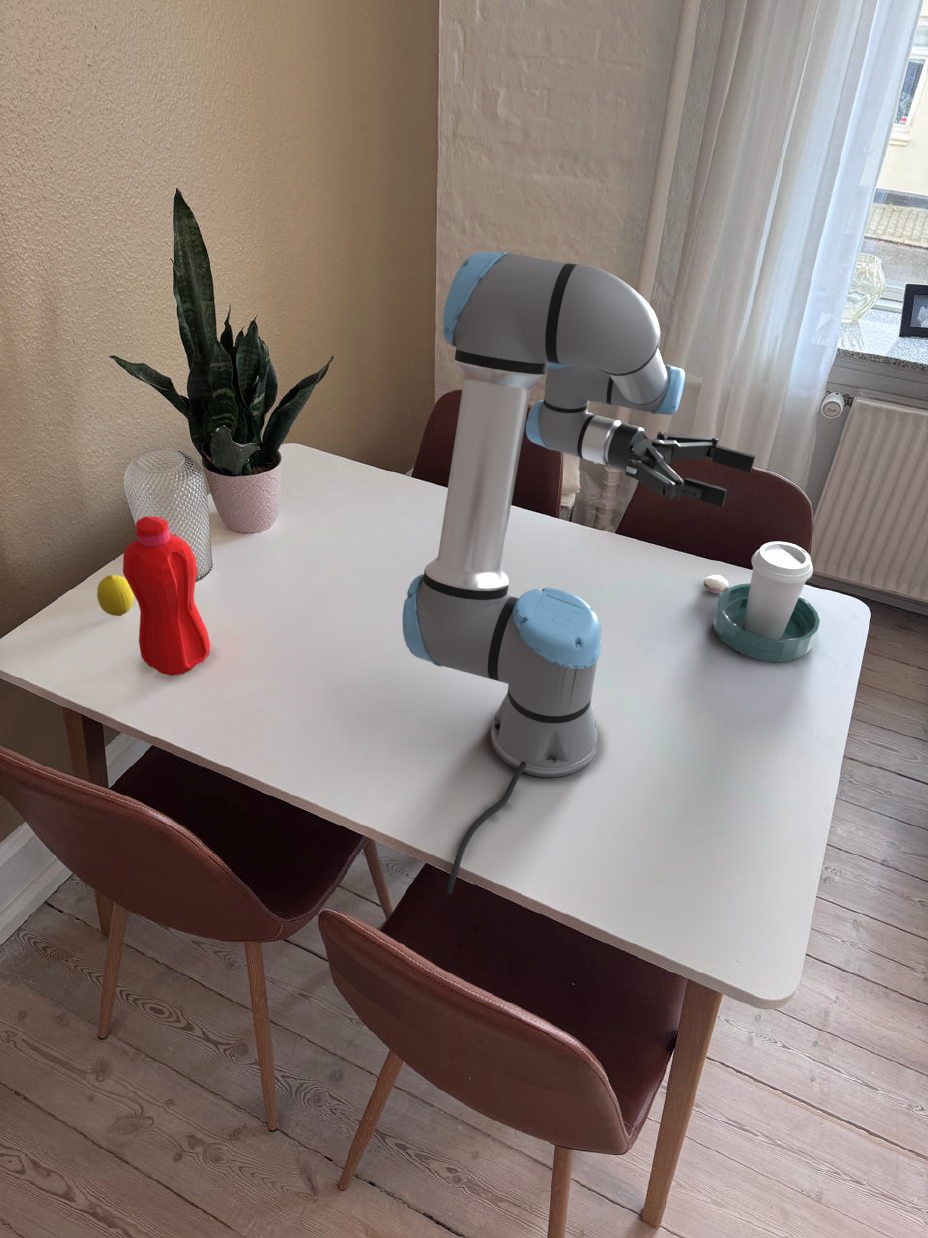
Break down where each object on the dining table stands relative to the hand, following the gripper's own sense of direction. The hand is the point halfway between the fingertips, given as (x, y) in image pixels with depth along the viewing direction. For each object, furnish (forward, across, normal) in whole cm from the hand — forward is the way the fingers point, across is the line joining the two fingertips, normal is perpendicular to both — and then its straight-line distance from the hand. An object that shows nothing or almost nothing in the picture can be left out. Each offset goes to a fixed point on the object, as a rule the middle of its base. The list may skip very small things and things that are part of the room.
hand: (739, 480), depth 145 cm
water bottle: (-66, +59, -26) cm, 92 cm away
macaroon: (-1, -8, -26) cm, 27 cm away
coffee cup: (+10, 0, -26) cm, 27 cm away
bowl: (+10, 0, -26) cm, 28 cm away
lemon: (-82, +57, -26) cm, 103 cm away
